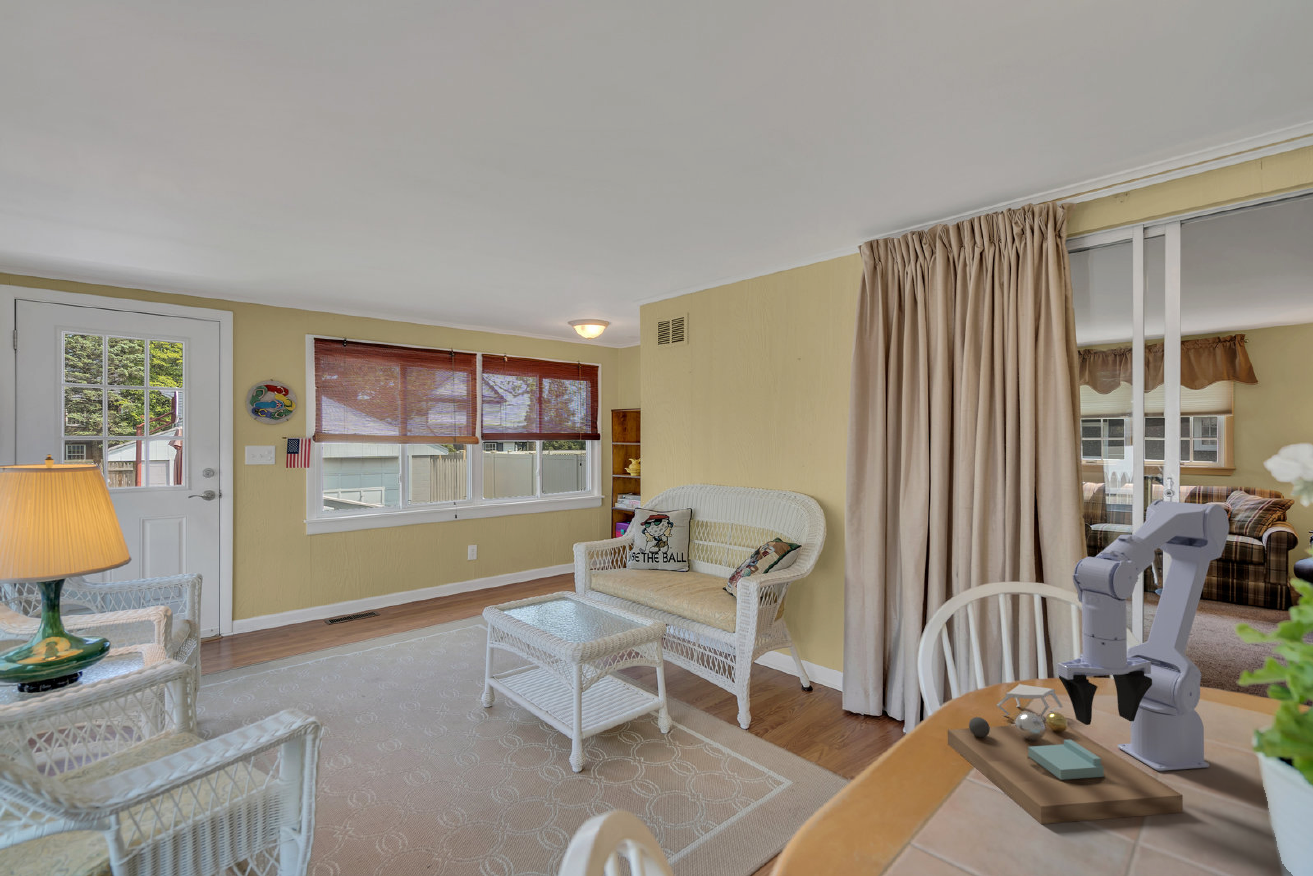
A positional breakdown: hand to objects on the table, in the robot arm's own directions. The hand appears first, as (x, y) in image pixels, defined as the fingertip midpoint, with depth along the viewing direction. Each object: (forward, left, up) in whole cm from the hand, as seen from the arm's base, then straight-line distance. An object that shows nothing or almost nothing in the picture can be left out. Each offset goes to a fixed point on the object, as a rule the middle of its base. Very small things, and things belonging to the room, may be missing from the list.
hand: (1105, 720), depth 99 cm
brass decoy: (0, -11, -5) cm, 12 cm away
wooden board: (+7, -2, -9) cm, 12 cm away
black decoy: (+14, -11, -5) cm, 19 cm away
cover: (+7, 0, -7) cm, 10 cm away
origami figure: (-3, -23, -10) cm, 25 cm away
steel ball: (+6, -9, -5) cm, 12 cm away
